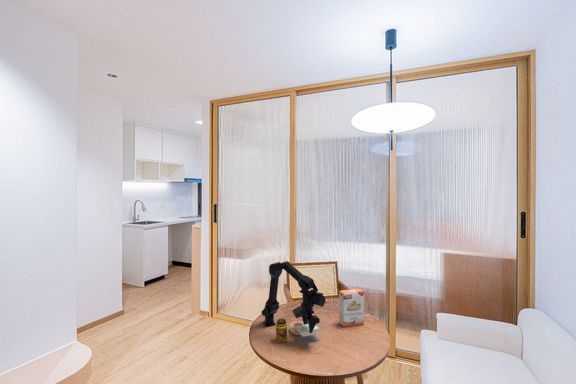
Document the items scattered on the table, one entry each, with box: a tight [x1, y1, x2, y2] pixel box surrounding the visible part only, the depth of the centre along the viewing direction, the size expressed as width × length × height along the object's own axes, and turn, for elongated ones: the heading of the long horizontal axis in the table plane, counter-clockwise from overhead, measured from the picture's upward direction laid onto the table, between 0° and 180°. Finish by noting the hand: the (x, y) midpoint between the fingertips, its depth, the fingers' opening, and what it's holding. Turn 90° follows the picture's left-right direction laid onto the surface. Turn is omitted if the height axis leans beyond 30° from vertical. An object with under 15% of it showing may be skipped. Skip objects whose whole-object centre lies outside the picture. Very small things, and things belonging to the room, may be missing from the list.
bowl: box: [289, 321, 304, 336], centre depth 168 cm, size 9×9×4 cm
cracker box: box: [339, 288, 365, 328], centre depth 177 cm, size 14×6×21 cm, turn 105°
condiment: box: [275, 318, 288, 344], centre depth 158 cm, size 7×8×12 cm
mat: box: [295, 333, 321, 346], centre depth 158 cm, size 8×12×1 cm
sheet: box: [297, 323, 320, 336], centre depth 158 cm, size 7×10×2 cm
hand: (308, 329), depth 158 cm, fingers closed on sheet, 7 cm apart
